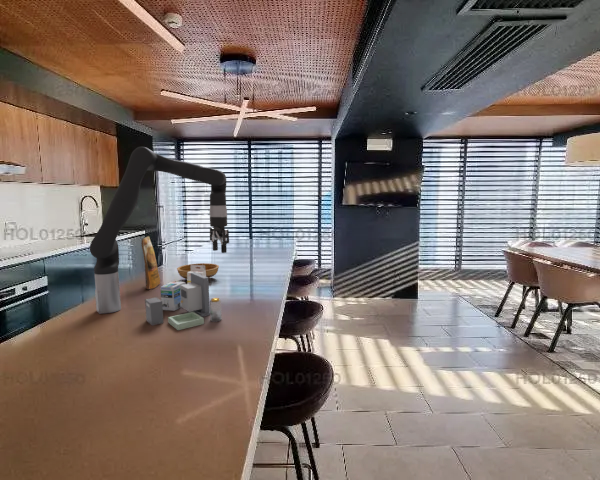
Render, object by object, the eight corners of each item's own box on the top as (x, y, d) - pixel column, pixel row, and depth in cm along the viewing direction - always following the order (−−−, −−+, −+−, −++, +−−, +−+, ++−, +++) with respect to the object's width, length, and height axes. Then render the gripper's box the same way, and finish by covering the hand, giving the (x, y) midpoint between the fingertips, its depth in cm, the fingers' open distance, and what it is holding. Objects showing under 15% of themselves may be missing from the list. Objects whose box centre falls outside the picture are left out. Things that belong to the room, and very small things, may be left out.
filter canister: (213, 322, 142) (212, 301, 141) (208, 319, 145) (207, 298, 144) (223, 319, 144) (222, 299, 143) (218, 317, 148) (217, 296, 147)
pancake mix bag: (139, 290, 190) (136, 238, 186) (151, 282, 209) (148, 234, 205) (152, 290, 191) (149, 238, 187) (163, 281, 209) (160, 234, 206)
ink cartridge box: (187, 294, 181) (186, 266, 179) (191, 292, 186) (190, 264, 184) (203, 295, 180) (202, 267, 179) (207, 292, 185) (205, 265, 184)
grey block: (151, 325, 139) (150, 303, 138) (146, 320, 144) (144, 299, 143) (163, 322, 142) (162, 301, 141) (157, 318, 147) (156, 297, 146)
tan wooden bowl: (180, 275, 225) (180, 263, 224) (219, 273, 230) (219, 261, 229) (174, 287, 196) (173, 273, 195) (219, 284, 201) (218, 271, 200)
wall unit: (191, 319, 145) (189, 281, 143) (177, 309, 158) (175, 274, 156) (217, 313, 153) (215, 277, 151) (201, 304, 165) (200, 270, 163)
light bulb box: (174, 311, 156) (173, 287, 155) (161, 310, 157) (159, 286, 156) (187, 303, 166) (186, 281, 165) (174, 303, 168) (172, 280, 166)
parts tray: (177, 330, 134) (177, 324, 133) (168, 322, 142) (167, 317, 141) (204, 323, 140) (203, 318, 140) (193, 316, 148) (193, 311, 148)
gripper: (203, 215, 160) (205, 250, 162) (217, 216, 150) (219, 254, 152) (218, 214, 165) (219, 249, 167) (233, 216, 154) (234, 252, 156)
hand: (219, 251), depth 159 cm, fingers open, 8 cm apart
